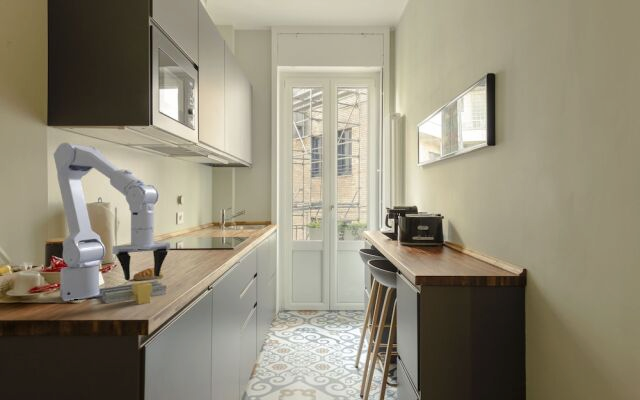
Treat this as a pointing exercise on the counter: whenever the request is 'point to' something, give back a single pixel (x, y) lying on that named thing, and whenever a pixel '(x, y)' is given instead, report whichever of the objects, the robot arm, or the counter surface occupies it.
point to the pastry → (147, 275)
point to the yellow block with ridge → (142, 291)
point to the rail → (127, 292)
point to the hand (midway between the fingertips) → (142, 277)
